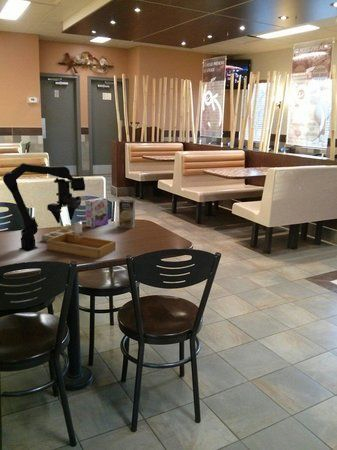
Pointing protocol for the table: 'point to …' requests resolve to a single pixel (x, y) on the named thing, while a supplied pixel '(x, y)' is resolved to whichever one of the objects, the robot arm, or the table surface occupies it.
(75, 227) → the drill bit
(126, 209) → the coffee box
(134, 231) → the table surface
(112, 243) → the tray
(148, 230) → the table surface
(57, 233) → the socket block
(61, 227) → the drift key
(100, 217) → the candy box
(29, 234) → the robot arm
